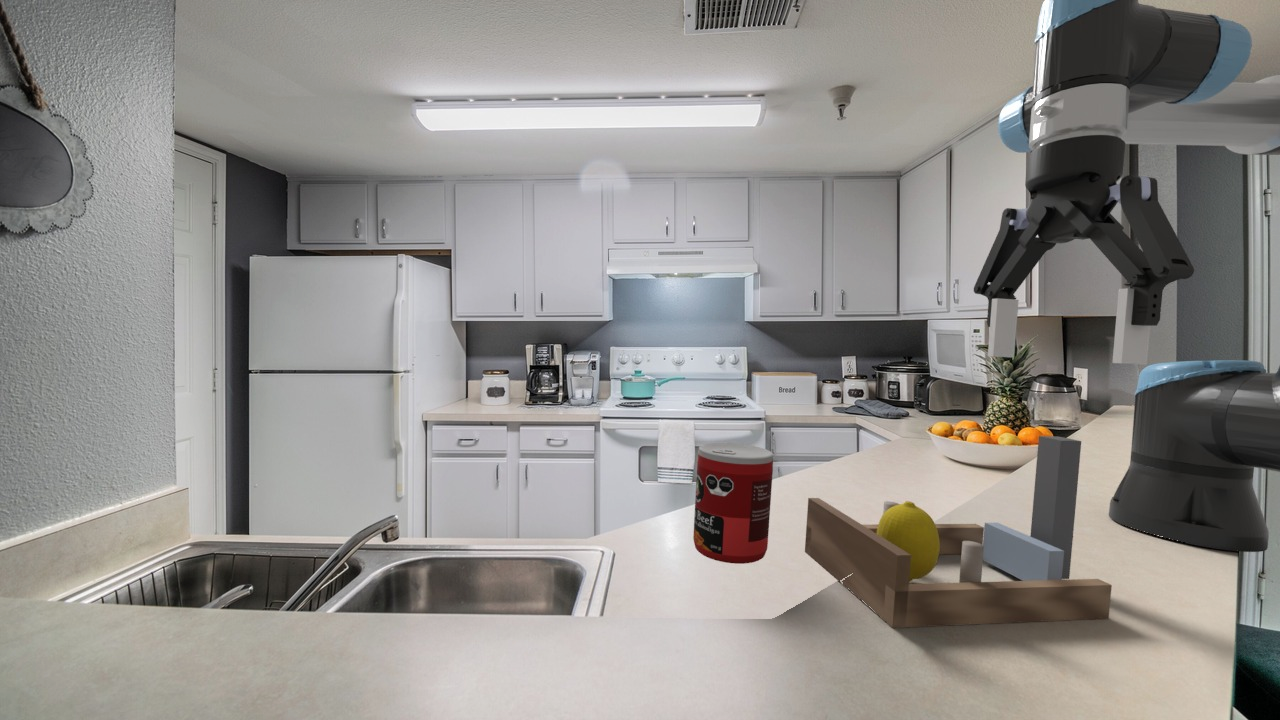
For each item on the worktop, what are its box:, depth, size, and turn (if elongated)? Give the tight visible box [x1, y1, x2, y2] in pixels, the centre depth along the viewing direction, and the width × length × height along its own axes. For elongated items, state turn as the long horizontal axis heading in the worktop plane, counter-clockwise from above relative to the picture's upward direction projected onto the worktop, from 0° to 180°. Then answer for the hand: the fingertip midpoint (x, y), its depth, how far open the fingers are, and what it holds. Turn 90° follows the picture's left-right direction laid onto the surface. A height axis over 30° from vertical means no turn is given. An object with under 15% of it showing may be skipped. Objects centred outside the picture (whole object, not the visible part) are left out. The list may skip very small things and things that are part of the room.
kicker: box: [983, 435, 1082, 581], centre depth 54 cm, size 6×8×14 cm
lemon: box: [876, 500, 940, 583], centre depth 52 cm, size 6×6×8 cm
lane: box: [804, 497, 1113, 629], centre depth 52 cm, size 21×15×6 cm
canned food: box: [692, 442, 774, 565], centre depth 58 cm, size 8×8×11 cm
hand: (1057, 360), depth 53 cm, fingers open, 13 cm apart
